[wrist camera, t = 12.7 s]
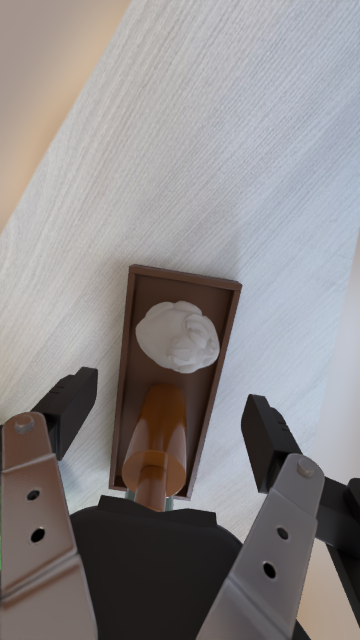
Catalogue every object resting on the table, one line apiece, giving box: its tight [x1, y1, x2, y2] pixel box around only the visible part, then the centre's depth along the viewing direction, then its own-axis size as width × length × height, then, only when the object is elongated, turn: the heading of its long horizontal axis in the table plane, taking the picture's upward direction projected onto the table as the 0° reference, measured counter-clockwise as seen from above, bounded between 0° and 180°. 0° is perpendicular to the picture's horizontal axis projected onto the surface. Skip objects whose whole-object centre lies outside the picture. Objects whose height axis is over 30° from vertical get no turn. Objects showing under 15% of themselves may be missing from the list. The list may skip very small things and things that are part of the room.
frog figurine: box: [136, 301, 220, 373], centre depth 21 cm, size 6×7×7 cm
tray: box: [109, 264, 242, 501], centre depth 26 cm, size 27×10×2 cm, turn 171°
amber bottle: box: [122, 383, 187, 512], centre depth 21 cm, size 5×5×12 cm
